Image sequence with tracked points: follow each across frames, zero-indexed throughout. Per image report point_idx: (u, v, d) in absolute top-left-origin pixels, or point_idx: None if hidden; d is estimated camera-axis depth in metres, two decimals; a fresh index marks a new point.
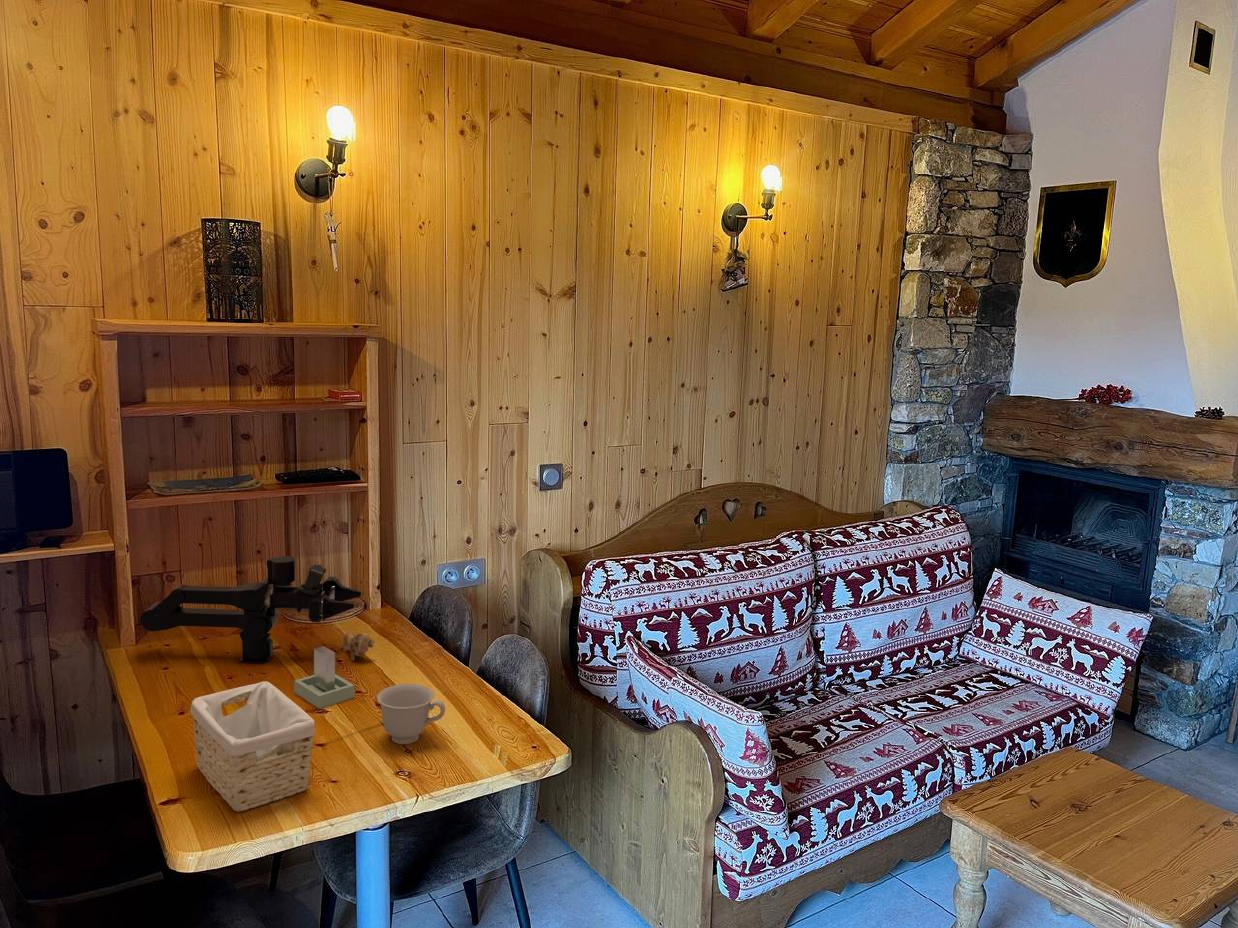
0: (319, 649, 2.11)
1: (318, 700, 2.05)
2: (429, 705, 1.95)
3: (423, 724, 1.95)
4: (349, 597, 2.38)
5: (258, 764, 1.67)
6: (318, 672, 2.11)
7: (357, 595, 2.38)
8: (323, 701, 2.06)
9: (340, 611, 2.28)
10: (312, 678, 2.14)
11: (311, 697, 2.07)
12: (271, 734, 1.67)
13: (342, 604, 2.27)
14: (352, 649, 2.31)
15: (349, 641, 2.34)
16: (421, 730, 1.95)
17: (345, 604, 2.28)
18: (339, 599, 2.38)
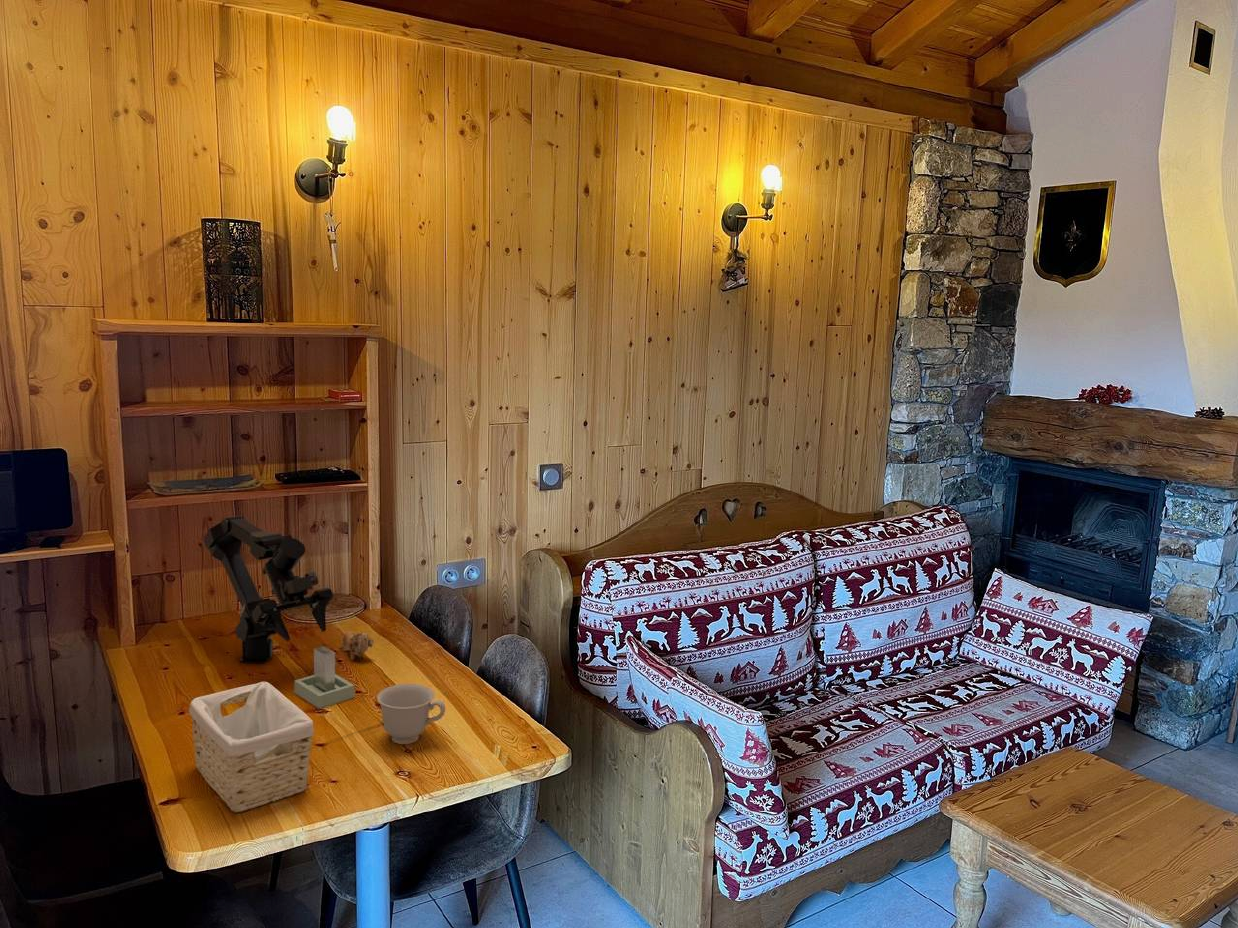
0: (319, 649, 2.11)
1: (318, 700, 2.05)
2: (429, 705, 1.95)
3: (423, 724, 1.95)
4: (318, 622, 2.20)
5: (256, 765, 1.67)
6: (318, 672, 2.11)
7: (321, 628, 2.19)
8: (323, 701, 2.06)
9: (277, 632, 2.13)
10: (312, 678, 2.14)
11: (311, 697, 2.07)
12: (269, 734, 1.66)
13: (281, 630, 2.12)
14: (351, 649, 2.31)
15: (348, 641, 2.34)
16: (421, 730, 1.95)
17: (283, 632, 2.12)
18: (314, 614, 2.22)
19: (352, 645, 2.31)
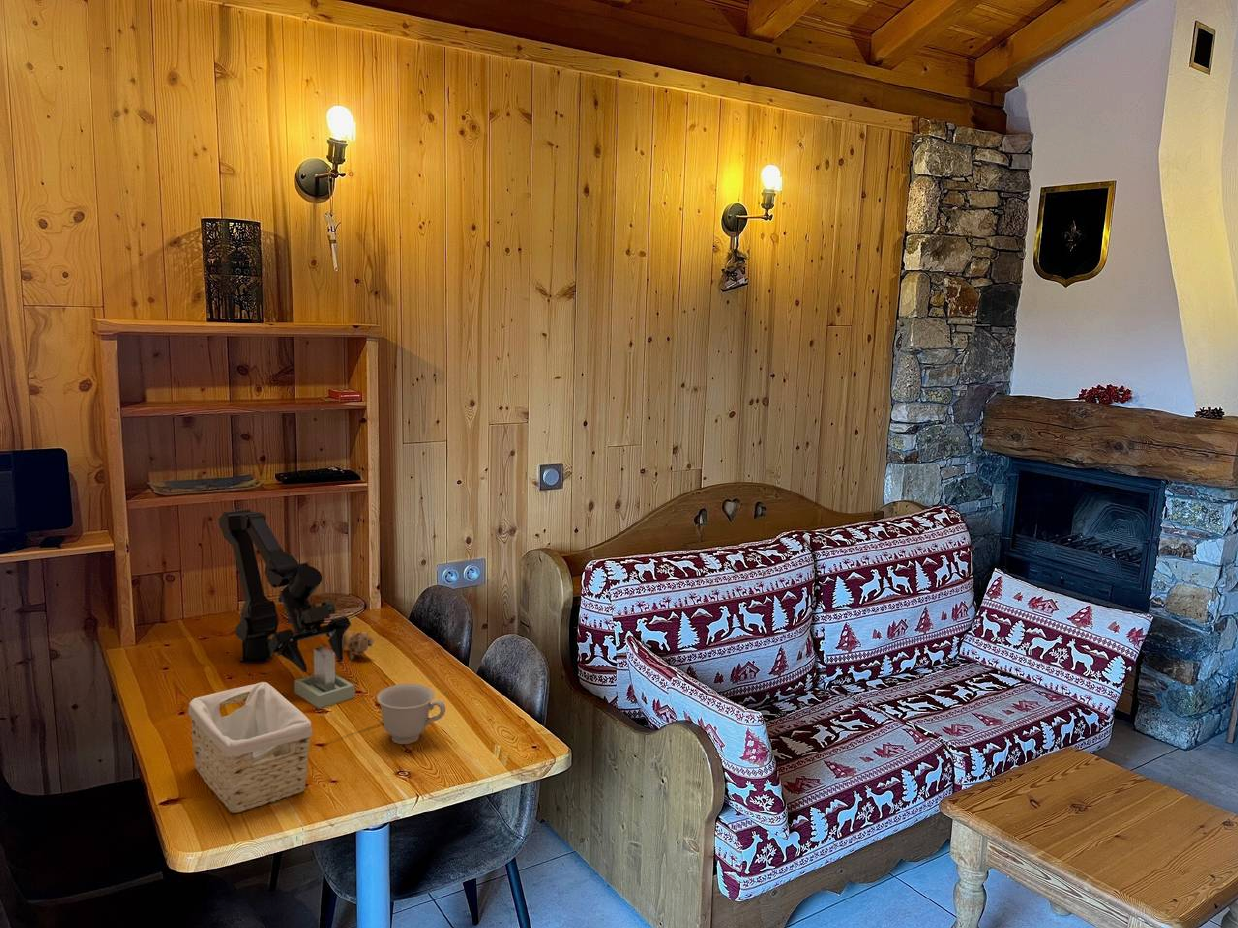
0: (319, 649, 2.11)
1: (318, 700, 2.05)
2: (429, 705, 1.95)
3: (423, 724, 1.95)
4: (335, 651, 2.16)
5: (254, 765, 1.66)
6: (318, 672, 2.11)
7: (338, 658, 2.15)
8: (323, 701, 2.06)
9: (294, 662, 2.09)
10: (312, 678, 2.14)
11: (311, 697, 2.07)
12: (267, 735, 1.66)
13: (298, 660, 2.08)
14: (351, 648, 2.32)
15: (348, 640, 2.35)
16: (421, 730, 1.95)
17: (300, 663, 2.08)
18: (331, 643, 2.18)
19: (352, 644, 2.31)
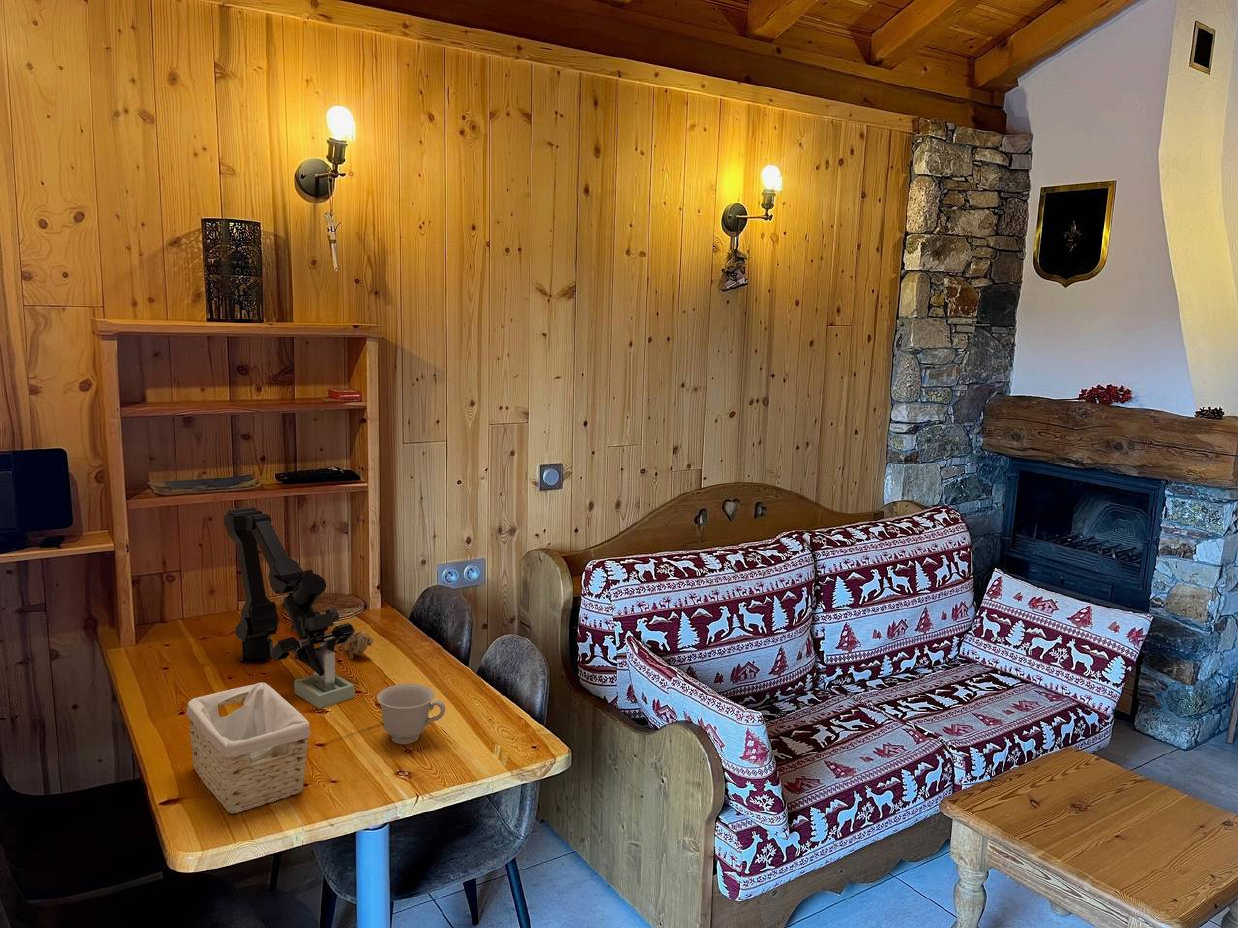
0: (319, 649, 2.11)
1: (318, 700, 2.05)
2: (429, 705, 1.95)
3: (423, 724, 1.95)
4: None
5: (252, 766, 1.66)
6: None
7: None
8: (323, 701, 2.06)
9: (311, 666, 2.10)
10: (312, 678, 2.14)
11: (311, 697, 2.07)
12: (265, 736, 1.66)
13: (315, 665, 2.09)
14: (351, 647, 2.32)
15: None
16: (421, 730, 1.95)
17: (317, 667, 2.09)
18: None
19: (351, 644, 2.32)
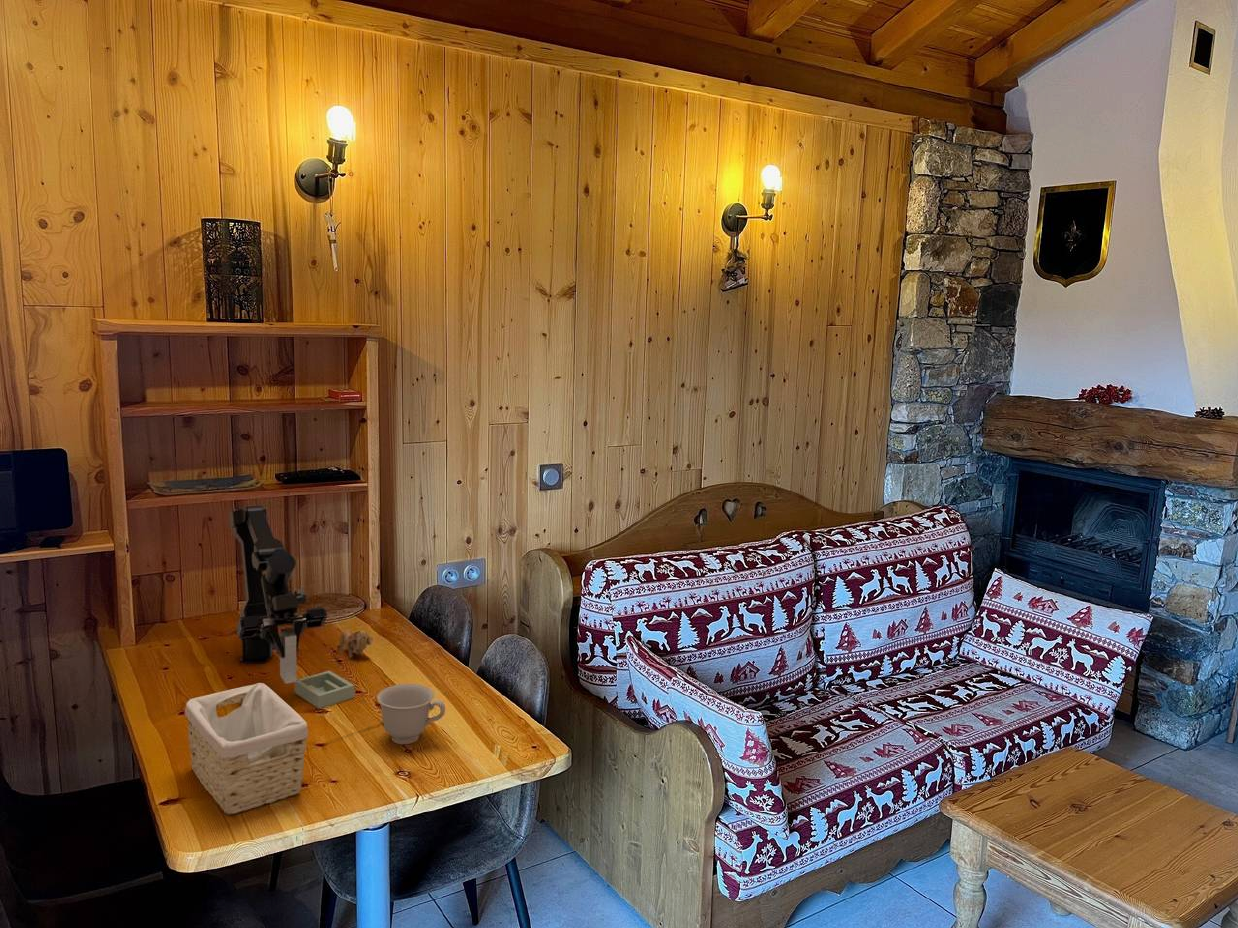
0: (284, 631, 2.04)
1: (318, 700, 2.05)
2: (429, 705, 1.95)
3: (423, 724, 1.95)
4: None
5: (250, 767, 1.66)
6: None
7: None
8: (323, 701, 2.06)
9: (274, 647, 2.04)
10: (312, 678, 2.14)
11: (311, 697, 2.07)
12: (263, 737, 1.65)
13: (276, 646, 2.03)
14: (350, 646, 2.33)
15: (347, 639, 2.35)
16: (421, 730, 1.95)
17: (278, 649, 2.03)
18: None
19: (351, 643, 2.32)
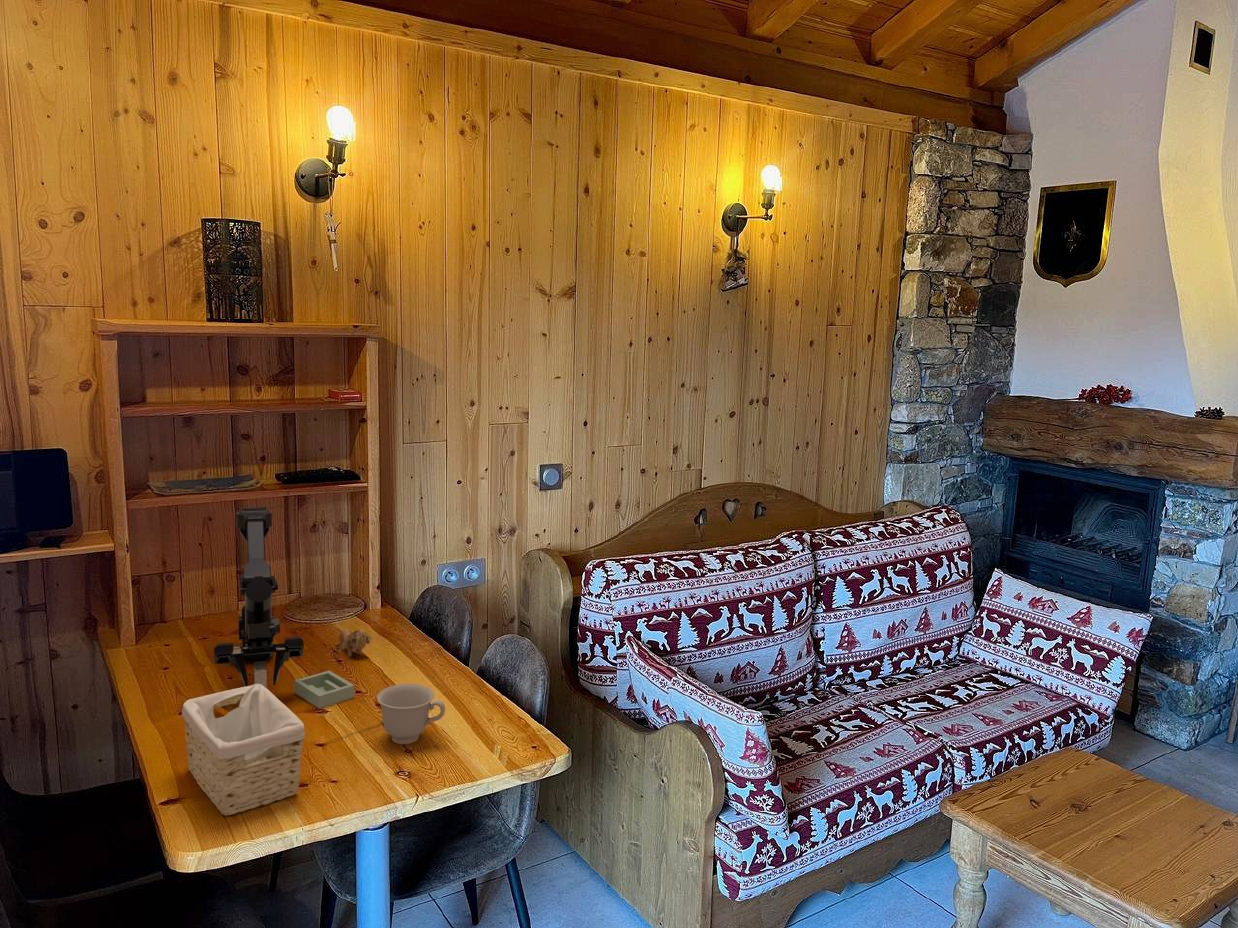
0: (257, 663, 2.03)
1: (318, 700, 2.05)
2: (429, 705, 1.95)
3: (423, 724, 1.95)
4: None
5: (246, 768, 1.65)
6: None
7: (273, 681, 2.03)
8: (323, 701, 2.06)
9: (241, 676, 2.03)
10: (312, 678, 2.14)
11: (311, 697, 2.07)
12: (259, 738, 1.65)
13: (241, 675, 2.01)
14: (349, 645, 2.33)
15: (346, 638, 2.36)
16: (421, 730, 1.95)
17: (242, 678, 2.01)
18: None
19: (350, 642, 2.33)
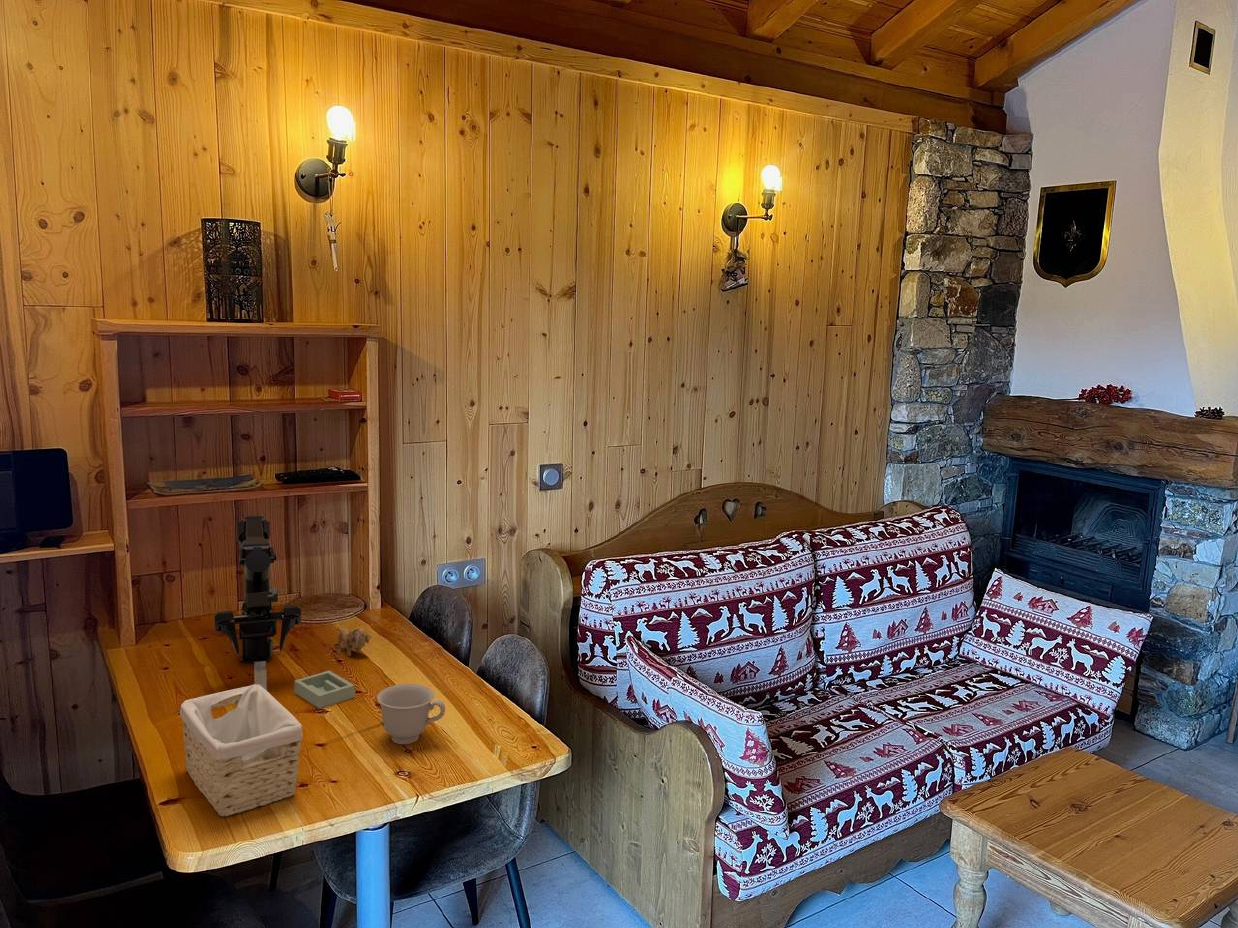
0: (257, 663, 2.03)
1: (318, 700, 2.05)
2: (429, 705, 1.95)
3: (423, 724, 1.95)
4: None
5: (244, 769, 1.65)
6: None
7: None
8: (323, 701, 2.06)
9: None
10: (312, 678, 2.14)
11: (311, 697, 2.07)
12: (257, 738, 1.65)
13: (233, 643, 2.08)
14: (349, 645, 2.34)
15: (345, 637, 2.37)
16: (421, 730, 1.95)
17: (234, 646, 2.08)
18: None
19: (349, 641, 2.34)
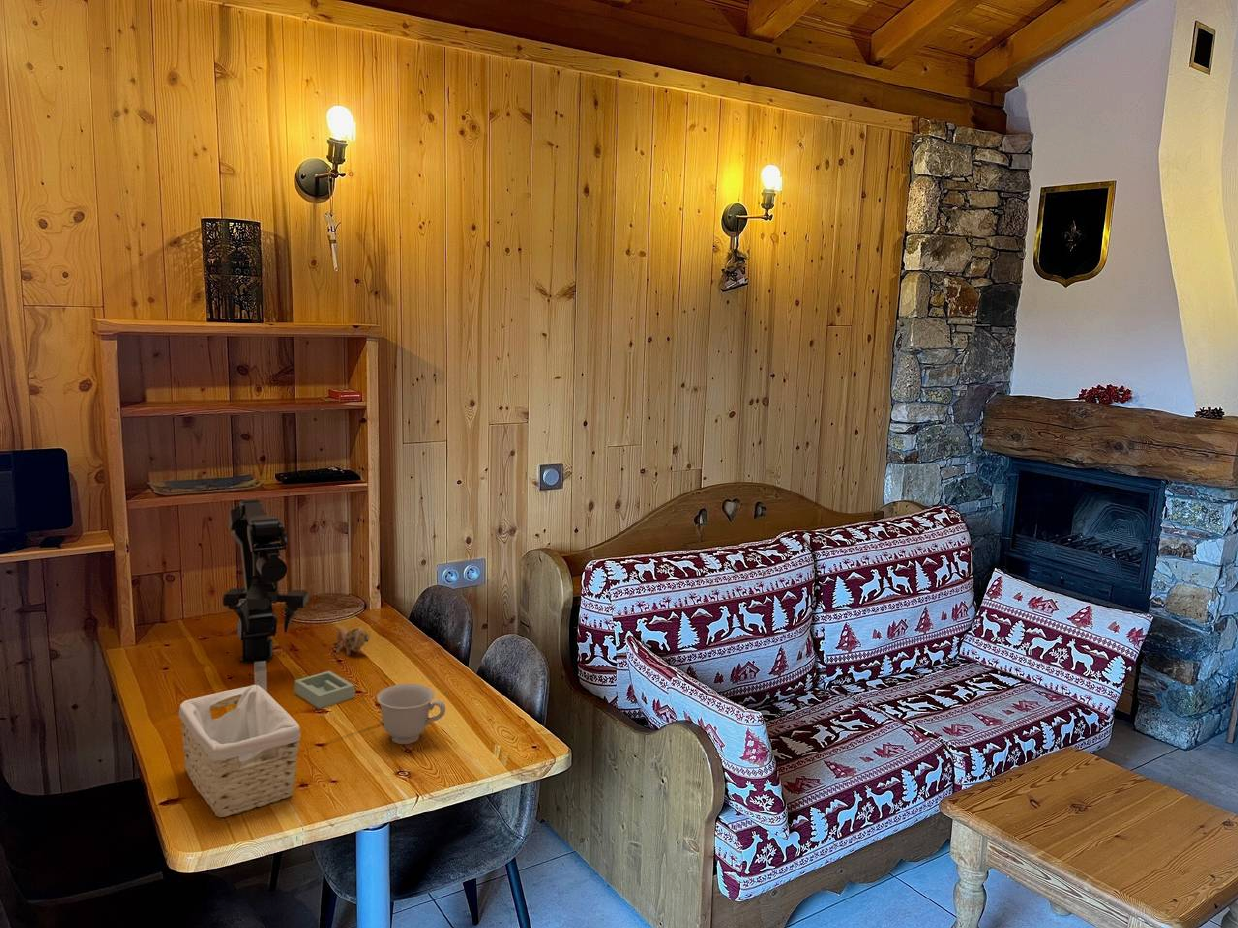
0: (257, 663, 2.03)
1: (318, 700, 2.05)
2: (429, 705, 1.95)
3: (423, 724, 1.95)
4: None
5: (241, 769, 1.65)
6: None
7: None
8: (323, 701, 2.06)
9: None
10: (312, 678, 2.14)
11: (311, 697, 2.07)
12: (254, 739, 1.64)
13: None
14: (348, 644, 2.34)
15: (344, 636, 2.37)
16: (421, 730, 1.95)
17: None
18: None
19: (348, 640, 2.34)
